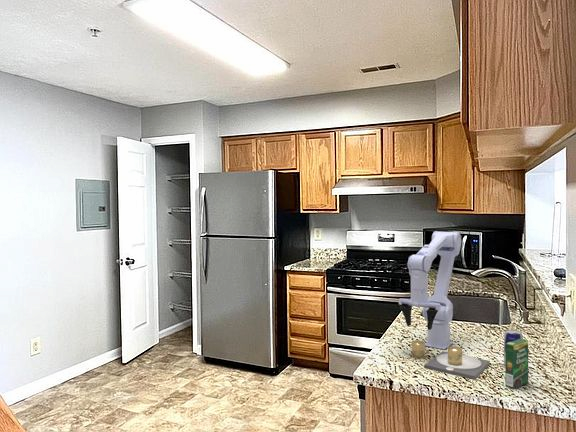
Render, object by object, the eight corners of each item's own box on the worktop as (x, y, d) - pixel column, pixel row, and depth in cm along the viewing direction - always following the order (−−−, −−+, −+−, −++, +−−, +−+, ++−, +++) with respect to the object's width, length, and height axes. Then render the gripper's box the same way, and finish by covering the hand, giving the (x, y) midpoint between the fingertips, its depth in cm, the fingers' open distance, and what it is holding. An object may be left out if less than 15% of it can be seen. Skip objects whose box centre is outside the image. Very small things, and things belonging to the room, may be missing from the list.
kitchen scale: (442, 353, 160) (442, 349, 160) (489, 363, 150) (490, 359, 150) (424, 367, 147) (424, 363, 147) (474, 379, 137) (474, 374, 137)
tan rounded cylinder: (414, 353, 161) (414, 339, 161) (426, 355, 159) (426, 341, 158) (409, 356, 158) (409, 342, 158) (421, 359, 155) (421, 345, 155)
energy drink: (512, 372, 143) (512, 334, 143) (500, 366, 148) (500, 330, 148) (526, 370, 144) (526, 333, 144) (513, 364, 150) (513, 328, 149)
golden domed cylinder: (450, 360, 150) (450, 345, 150) (464, 363, 147) (464, 348, 147) (445, 363, 146) (445, 348, 146) (459, 367, 143) (459, 351, 143)
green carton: (513, 389, 129) (514, 345, 129) (504, 386, 132) (504, 342, 132) (529, 383, 134) (529, 340, 133) (519, 380, 136) (520, 337, 136)
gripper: (395, 288, 159) (395, 326, 159) (435, 293, 150) (435, 333, 150) (403, 285, 164) (403, 322, 165) (442, 289, 155) (442, 328, 156)
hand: (419, 327), depth 158 cm, fingers open, 7 cm apart
